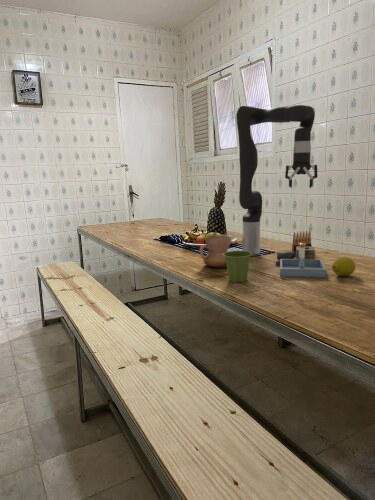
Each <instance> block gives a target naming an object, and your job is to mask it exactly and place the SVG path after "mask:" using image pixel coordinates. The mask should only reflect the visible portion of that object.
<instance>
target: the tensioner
mask: <svg viewBox="0 0 375 500" xmlns="http://www.w3.org/2000/svg"><path fill="white" fill-rule="evenodd" d="M280 259H299V247H296V254H294V252H293V251H292V250H278V251H276V255H275V266H280ZM305 259H316V249H315V247H314V246H311V247H305Z"/></svg>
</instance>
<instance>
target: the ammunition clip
mask: <svg viewBox="0 0 375 500" xmlns="http://www.w3.org/2000/svg"><path fill="white" fill-rule="evenodd" d="M292 237H293V238H292V245H291V251H293V252H294V254H296V247H299V246H298V243H306V246H305V247H312V234H311V230H309V231H308V230H306V231H304V230H303V231H297V232H296V231H294V232H293V235H292Z"/></svg>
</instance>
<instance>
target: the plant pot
mask: <svg viewBox="0 0 375 500" xmlns="http://www.w3.org/2000/svg"><path fill="white" fill-rule="evenodd" d="M223 256H224V258H225V261H226V265H227V266H226V271H227V276H228V279H229V281H230V282H232V283H238V282H240V283H243V282H247V280H248V276H249V275H248V273H249V269H250V261H251V258H252V257H251V256H253V255H252V253H251V252H248V251H242V250H230V251H227V252H225V253H223Z"/></svg>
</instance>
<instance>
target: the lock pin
mask: <svg viewBox="0 0 375 500" xmlns="http://www.w3.org/2000/svg"><path fill="white" fill-rule="evenodd" d="M298 246H299V269H304V261H305V246H306V243H298Z"/></svg>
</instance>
